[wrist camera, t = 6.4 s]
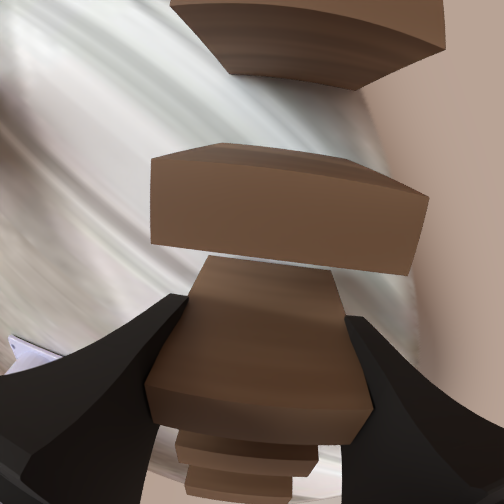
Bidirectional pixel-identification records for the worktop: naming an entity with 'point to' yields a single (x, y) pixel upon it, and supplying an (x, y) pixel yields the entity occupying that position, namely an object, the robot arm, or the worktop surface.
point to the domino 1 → (317, 36)
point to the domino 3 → (261, 358)
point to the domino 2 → (284, 208)
